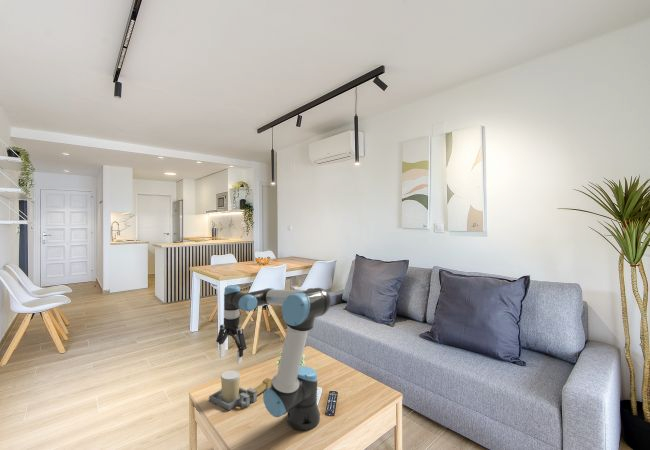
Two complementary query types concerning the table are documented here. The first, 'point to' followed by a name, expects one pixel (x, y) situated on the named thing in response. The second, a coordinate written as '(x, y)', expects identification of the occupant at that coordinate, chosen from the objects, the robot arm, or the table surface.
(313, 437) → the table surface
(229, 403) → the dock tray
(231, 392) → the coffee cup
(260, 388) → the lock pin
